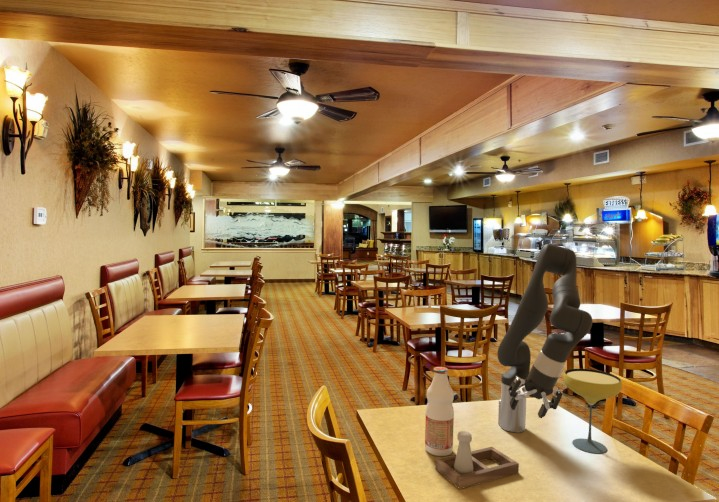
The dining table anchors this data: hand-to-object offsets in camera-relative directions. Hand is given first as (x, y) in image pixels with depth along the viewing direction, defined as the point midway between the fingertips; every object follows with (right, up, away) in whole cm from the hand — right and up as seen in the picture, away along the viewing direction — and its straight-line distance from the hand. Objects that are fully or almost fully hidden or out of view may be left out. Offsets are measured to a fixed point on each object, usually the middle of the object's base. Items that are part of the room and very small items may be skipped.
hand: (525, 412), depth 135 cm
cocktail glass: (+31, -20, +22) cm, 43 cm away
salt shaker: (-19, -20, +2) cm, 27 cm away
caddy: (-14, -20, +4) cm, 24 cm away
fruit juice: (-23, -19, +17) cm, 35 cm away
